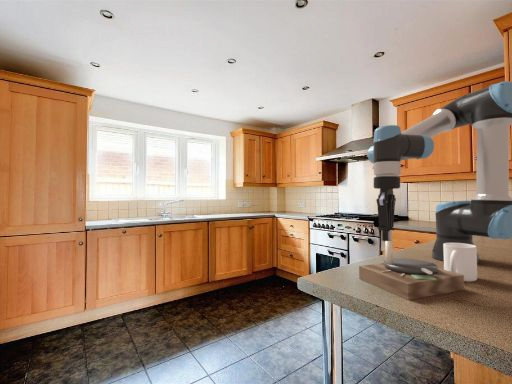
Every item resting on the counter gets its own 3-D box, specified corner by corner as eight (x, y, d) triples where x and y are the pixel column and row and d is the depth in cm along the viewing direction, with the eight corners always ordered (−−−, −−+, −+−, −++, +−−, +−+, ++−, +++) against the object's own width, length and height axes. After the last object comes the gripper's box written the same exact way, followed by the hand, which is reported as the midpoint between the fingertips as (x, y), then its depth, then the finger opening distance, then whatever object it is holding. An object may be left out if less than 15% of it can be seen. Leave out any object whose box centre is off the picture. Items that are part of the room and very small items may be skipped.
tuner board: (408, 272, 90) (407, 259, 90) (466, 290, 72) (465, 274, 72) (359, 278, 83) (359, 265, 83) (409, 300, 66) (409, 283, 66)
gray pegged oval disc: (377, 261, 87) (376, 237, 87) (421, 261, 86) (420, 237, 86) (403, 278, 70) (402, 248, 70) (458, 279, 69) (457, 248, 69)
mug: (469, 286, 75) (468, 250, 75) (435, 279, 81) (435, 246, 81) (480, 278, 82) (479, 245, 82) (449, 272, 89) (448, 241, 89)
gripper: (380, 177, 90) (379, 246, 90) (367, 175, 80) (367, 252, 80) (404, 176, 85) (404, 249, 85) (394, 174, 75) (394, 257, 76)
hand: (386, 251), depth 83 cm, fingers closed
